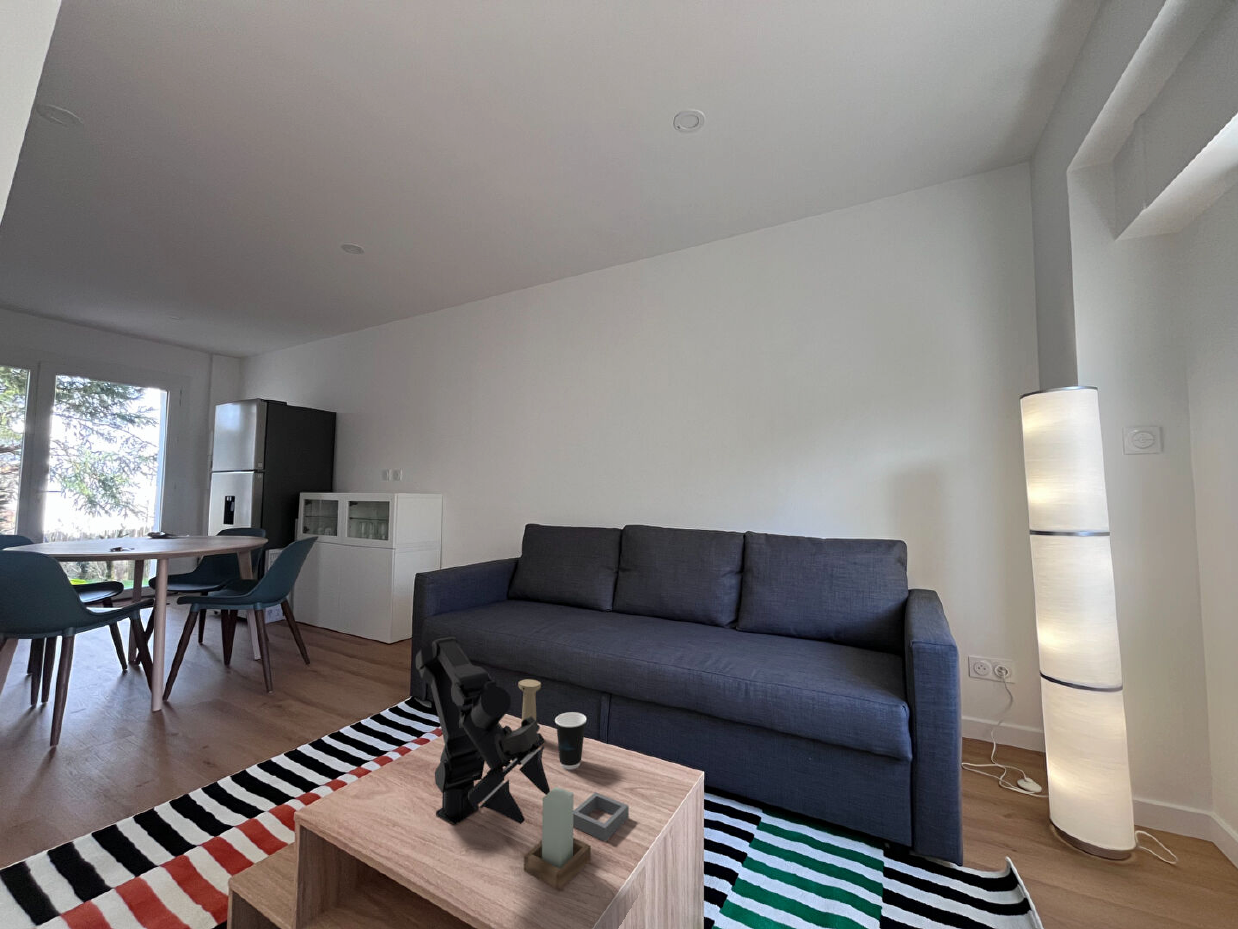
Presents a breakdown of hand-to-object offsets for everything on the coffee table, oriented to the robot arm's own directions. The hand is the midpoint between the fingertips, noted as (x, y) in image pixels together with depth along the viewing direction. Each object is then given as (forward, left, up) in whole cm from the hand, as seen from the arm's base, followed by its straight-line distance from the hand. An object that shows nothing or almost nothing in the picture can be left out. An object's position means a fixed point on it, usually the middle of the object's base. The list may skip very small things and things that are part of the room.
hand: (536, 807), depth 90 cm
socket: (+4, +15, -9) cm, 18 cm away
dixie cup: (-15, +29, -9) cm, 34 cm away
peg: (+5, +1, -9) cm, 10 cm away
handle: (-33, +33, -9) cm, 47 cm away
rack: (+5, +1, -9) cm, 10 cm away
